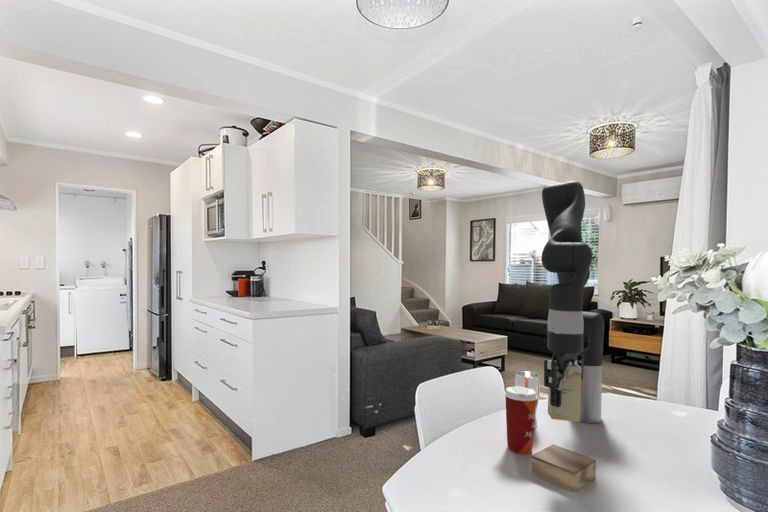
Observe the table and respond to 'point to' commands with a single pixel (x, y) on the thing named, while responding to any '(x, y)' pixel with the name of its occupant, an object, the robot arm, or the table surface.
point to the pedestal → (563, 467)
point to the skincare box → (568, 397)
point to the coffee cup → (520, 418)
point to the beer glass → (529, 385)
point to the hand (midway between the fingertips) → (564, 402)
